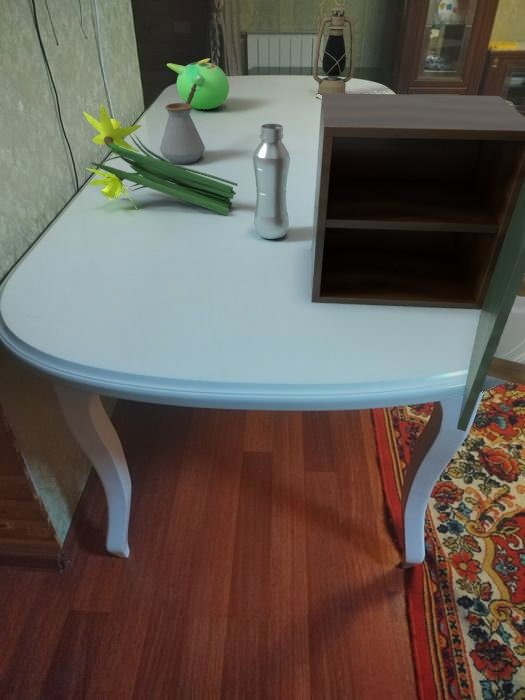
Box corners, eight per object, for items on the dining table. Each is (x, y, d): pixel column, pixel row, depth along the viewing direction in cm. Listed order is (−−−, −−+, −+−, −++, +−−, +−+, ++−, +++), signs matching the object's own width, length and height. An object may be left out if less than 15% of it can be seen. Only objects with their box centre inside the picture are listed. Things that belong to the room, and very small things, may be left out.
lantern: (347, 92, 190) (356, -5, 172) (354, 99, 181) (365, -2, 162) (309, 92, 190) (314, -5, 171) (314, 100, 180) (320, -2, 161)
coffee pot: (198, 168, 127) (193, 103, 117) (154, 165, 129) (146, 101, 119) (220, 142, 143) (217, 83, 134) (181, 140, 145) (175, 81, 135)
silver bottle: (282, 245, 95) (285, 133, 82) (248, 239, 97) (246, 129, 84) (292, 231, 99) (297, 123, 87) (260, 225, 101) (260, 119, 89)
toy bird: (239, 108, 172) (238, 59, 163) (203, 118, 162) (199, 66, 153) (202, 99, 181) (199, 52, 172) (166, 109, 171) (161, 59, 162)
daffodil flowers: (216, 236, 100) (47, 176, 99) (224, 241, 114) (77, 189, 114) (244, 151, 97) (71, 89, 97) (248, 168, 112) (98, 114, 111)
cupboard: (482, 310, 78) (541, 131, 62) (311, 303, 80) (324, 126, 63) (456, 254, 92) (499, 95, 75) (311, 249, 94) (321, 92, 77)
